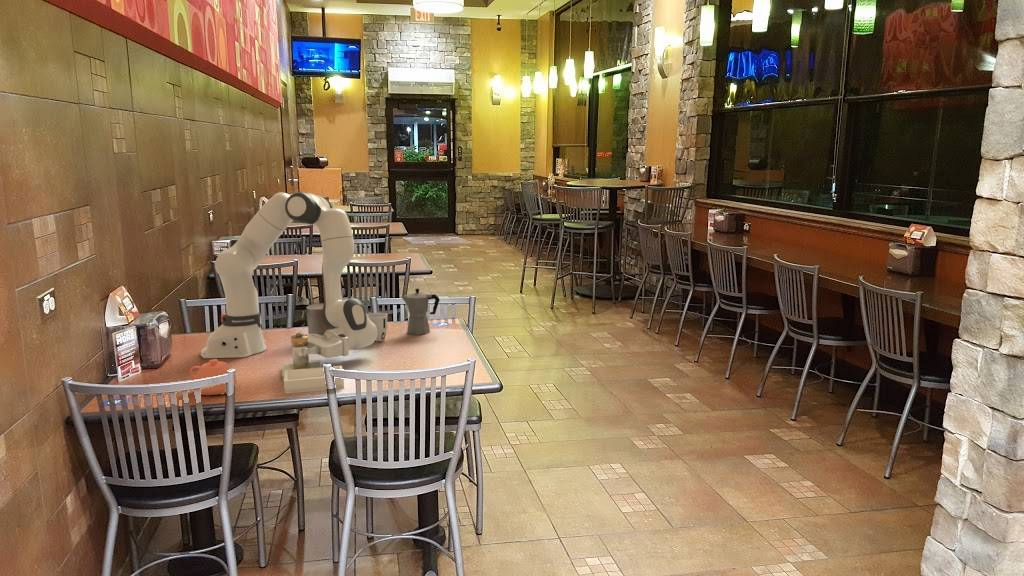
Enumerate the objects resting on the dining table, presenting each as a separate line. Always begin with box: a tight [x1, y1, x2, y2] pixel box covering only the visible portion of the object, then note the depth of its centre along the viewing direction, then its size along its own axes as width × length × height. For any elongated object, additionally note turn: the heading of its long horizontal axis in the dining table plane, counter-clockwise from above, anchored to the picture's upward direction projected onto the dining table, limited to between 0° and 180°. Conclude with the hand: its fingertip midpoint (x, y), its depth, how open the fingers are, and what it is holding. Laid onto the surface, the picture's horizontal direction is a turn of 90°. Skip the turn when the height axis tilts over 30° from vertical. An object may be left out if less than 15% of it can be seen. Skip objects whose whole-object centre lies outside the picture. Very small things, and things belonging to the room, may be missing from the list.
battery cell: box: [290, 332, 310, 370], centre depth 230 cm, size 5×5×12 cm
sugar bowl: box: [189, 358, 238, 396], centre depth 213 cm, size 12×14×10 cm
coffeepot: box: [400, 288, 440, 336], centre depth 280 cm, size 15×9×18 cm, turn 88°
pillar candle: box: [306, 302, 330, 336], centre depth 269 cm, size 10×10×15 cm
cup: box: [367, 312, 388, 343], centre depth 269 cm, size 8×8×10 cm
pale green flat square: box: [281, 361, 321, 381], centre depth 231 cm, size 12×12×2 cm
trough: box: [283, 365, 345, 394], centre depth 219 cm, size 18×11×4 cm, turn 106°
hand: (297, 350), depth 229 cm, fingers closed on battery cell, 5 cm apart
